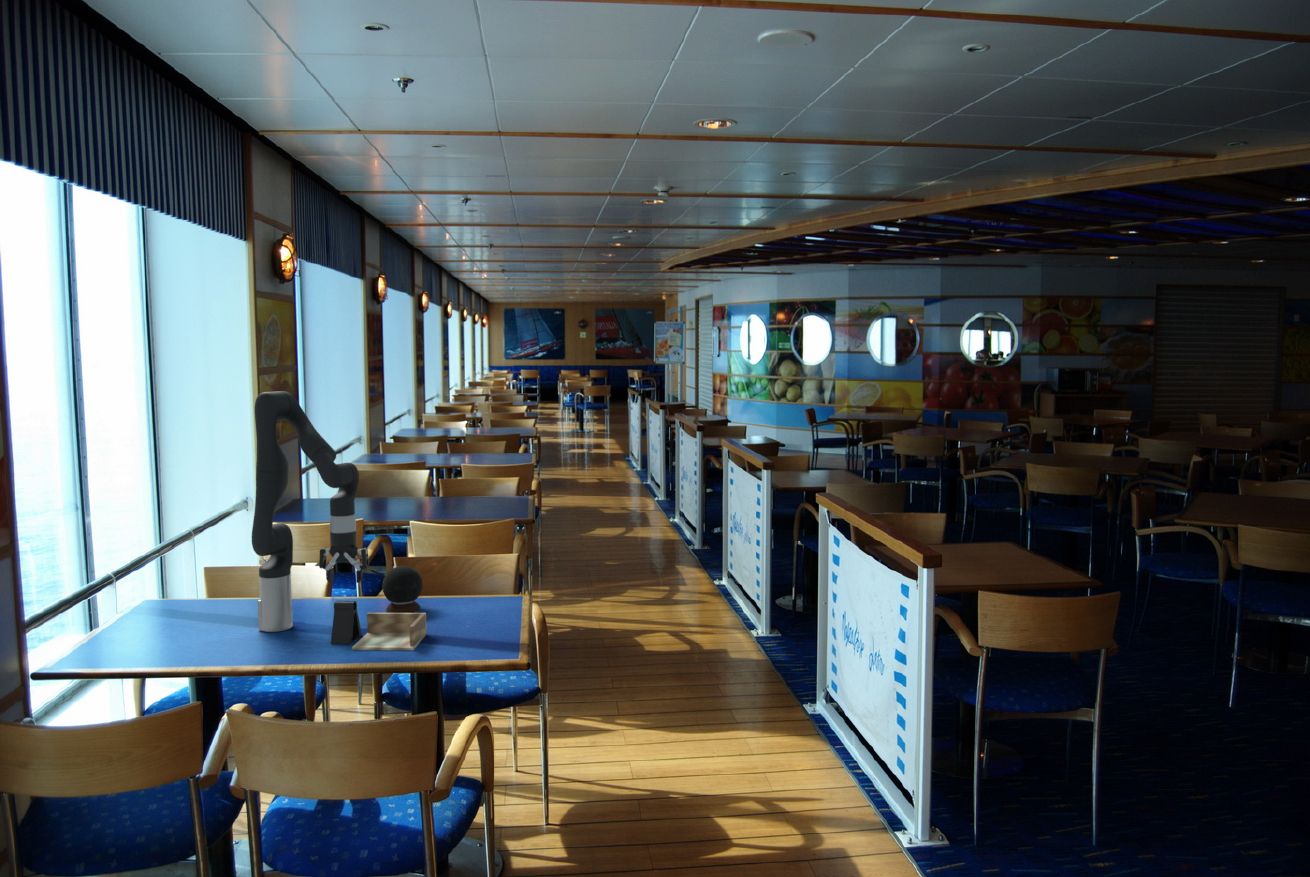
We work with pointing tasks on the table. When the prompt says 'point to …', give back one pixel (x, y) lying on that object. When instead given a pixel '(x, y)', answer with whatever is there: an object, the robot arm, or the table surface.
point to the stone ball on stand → (402, 589)
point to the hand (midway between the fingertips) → (344, 582)
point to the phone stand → (345, 623)
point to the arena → (393, 631)
